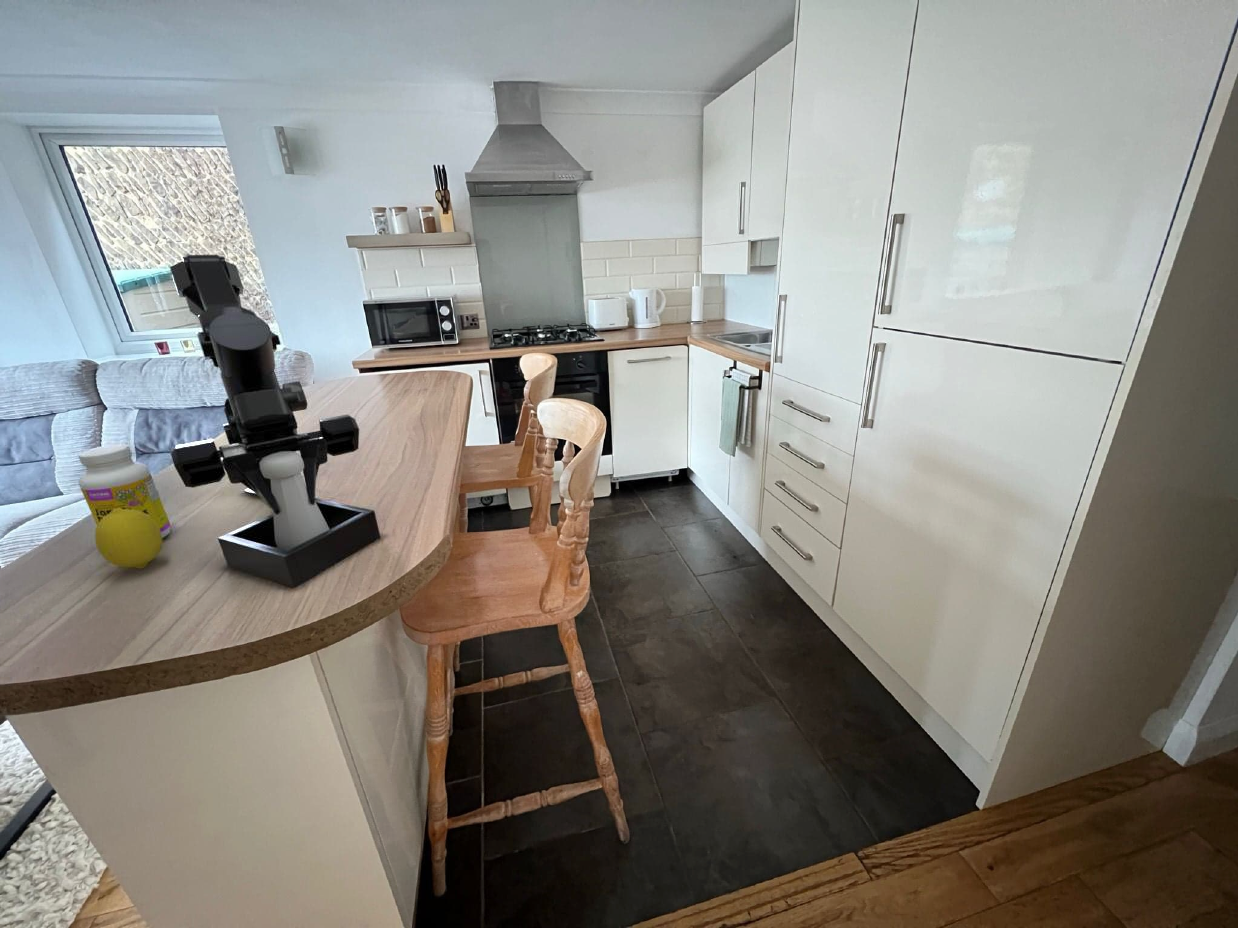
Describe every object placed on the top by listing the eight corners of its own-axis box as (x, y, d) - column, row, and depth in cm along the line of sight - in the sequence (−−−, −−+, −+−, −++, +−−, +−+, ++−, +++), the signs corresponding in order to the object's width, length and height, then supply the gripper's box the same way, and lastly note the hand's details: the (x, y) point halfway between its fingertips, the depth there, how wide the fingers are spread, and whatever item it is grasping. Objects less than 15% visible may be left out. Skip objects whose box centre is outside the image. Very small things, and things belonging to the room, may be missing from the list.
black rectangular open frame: (227, 567, 61) (217, 537, 59) (318, 522, 71) (311, 497, 69) (294, 588, 56) (284, 557, 55) (380, 537, 66) (374, 510, 65)
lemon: (136, 557, 64) (111, 500, 61) (182, 554, 64) (159, 497, 61) (98, 582, 58) (68, 521, 56) (148, 579, 59) (121, 517, 56)
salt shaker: (309, 566, 60) (279, 465, 56) (269, 562, 61) (235, 463, 57) (343, 541, 66) (318, 447, 61) (306, 538, 67) (278, 445, 62)
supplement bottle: (99, 557, 64) (54, 463, 59) (118, 535, 70) (78, 447, 65) (165, 543, 67) (128, 452, 62) (179, 523, 72) (145, 438, 68)
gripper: (141, 374, 53) (177, 504, 48) (338, 351, 63) (381, 456, 59) (169, 430, 61) (202, 544, 57) (338, 402, 72) (376, 496, 68)
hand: (295, 508), depth 60 cm, fingers closed on salt shaker, 3 cm apart
